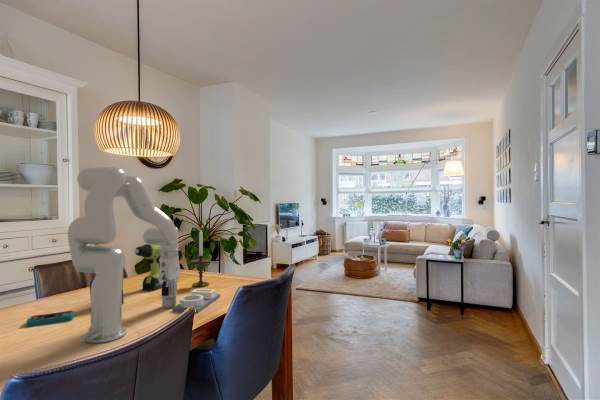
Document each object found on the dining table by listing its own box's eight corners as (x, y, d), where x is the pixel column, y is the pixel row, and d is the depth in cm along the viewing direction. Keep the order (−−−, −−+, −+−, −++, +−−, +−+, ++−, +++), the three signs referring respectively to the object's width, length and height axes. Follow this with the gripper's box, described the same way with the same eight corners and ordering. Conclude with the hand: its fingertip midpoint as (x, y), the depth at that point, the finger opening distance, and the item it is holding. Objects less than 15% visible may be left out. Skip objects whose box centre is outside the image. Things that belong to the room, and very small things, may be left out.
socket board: (198, 312, 141) (198, 302, 141) (172, 311, 143) (172, 301, 143) (220, 296, 165) (220, 287, 165) (197, 295, 167) (197, 287, 167)
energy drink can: (167, 309, 145) (167, 275, 146) (159, 307, 149) (159, 274, 149) (179, 305, 151) (179, 273, 151) (170, 303, 154) (170, 271, 154)
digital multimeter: (29, 322, 131) (29, 315, 131) (74, 316, 138) (74, 309, 138) (24, 328, 125) (24, 321, 125) (72, 321, 132) (72, 314, 132)
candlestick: (213, 283, 192) (213, 223, 193) (206, 288, 182) (206, 224, 182) (195, 282, 194) (195, 223, 194) (187, 287, 183) (187, 224, 183)
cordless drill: (139, 296, 165) (139, 247, 165) (127, 295, 167) (127, 246, 167) (167, 285, 188) (168, 241, 188) (157, 284, 189) (157, 241, 190)
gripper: (166, 257, 141) (166, 299, 141) (186, 251, 158) (186, 288, 158) (150, 256, 142) (150, 298, 142) (171, 251, 159) (171, 288, 159)
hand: (169, 293), depth 150 cm, fingers closed on energy drink can, 6 cm apart
